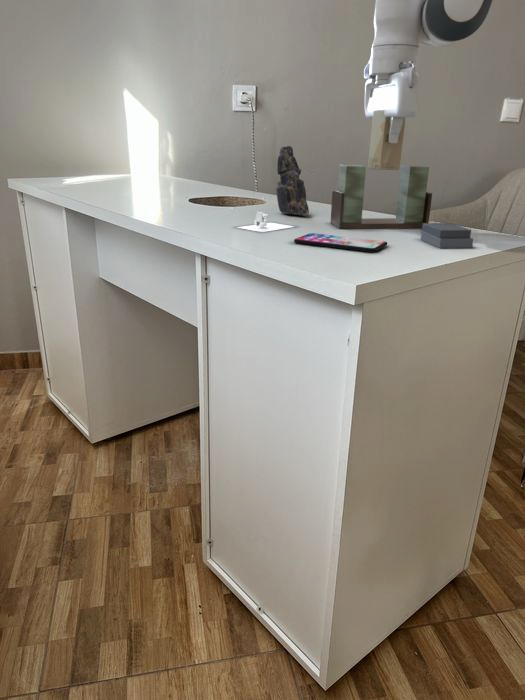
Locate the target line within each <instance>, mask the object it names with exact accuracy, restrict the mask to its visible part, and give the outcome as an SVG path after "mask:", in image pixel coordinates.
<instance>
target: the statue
mask: <svg viewBox="0 0 525 700" xmlns="http://www.w3.org/2000/svg"><path fill="white" fill-rule="evenodd" d="M276 168H277V169H276V171H277V175H278V176H279V179H280V181H278V182H277V187H276V188H275V191H276V199H277V206H278V209H279V212H280V213H282V214H286V215H296V216H309V213H310V209H309V205H308V201H307V191H306V187H305V181H304V180H303V179H301V178H300V175H301V173H302V168H299V164H298V161H297V159H296V157H295V156H294V149H293V147H292V145H287V146H282V147H281V148H280V149H279V155H278V157H277V167H276Z"/></svg>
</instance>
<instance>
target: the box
mask: <svg viewBox="0 0 525 700" xmlns="http://www.w3.org/2000/svg"><path fill="white" fill-rule="evenodd" d="M406 118H407V117H403V125H402V127H401V130H400V133H399V138H398V142H397V143H388V142H387V135H388V133H389V130H390V126H391V124H390V117H386V116H385V114H384V111H383V110H376V111H374V112H373V118H372V123H371V133H370V142H369V143H370V144H369V151H368V152H369V153H368V162H367V163H368V164H367V169H369V170H376V171H400V170H401V160H402V150H403V144H404V136H405V135H404V134H405V126H406Z"/></svg>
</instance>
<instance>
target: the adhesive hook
mask: <svg viewBox="0 0 525 700" xmlns="http://www.w3.org/2000/svg"><path fill="white" fill-rule="evenodd" d="M267 216H269V214H268V213H264V212H263V211H257V212H256V214H255V220H254V221H253V223H254V224H252V225H245V226H238V227H236V228H237V229H244V230H248V231H254V232H258V233H266V232H273V231H277V230H284V229H291V228H296V226H294V225H287V224H283V223H277V222H267Z"/></svg>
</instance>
